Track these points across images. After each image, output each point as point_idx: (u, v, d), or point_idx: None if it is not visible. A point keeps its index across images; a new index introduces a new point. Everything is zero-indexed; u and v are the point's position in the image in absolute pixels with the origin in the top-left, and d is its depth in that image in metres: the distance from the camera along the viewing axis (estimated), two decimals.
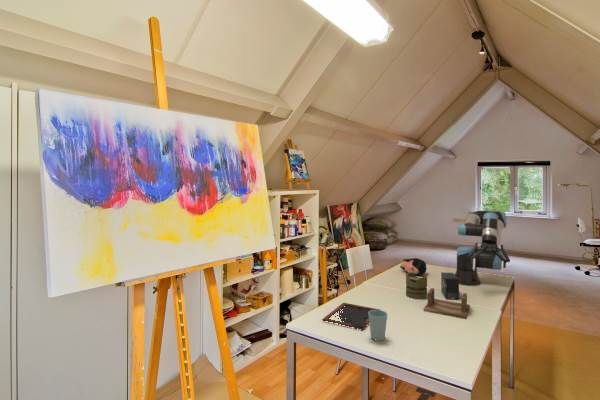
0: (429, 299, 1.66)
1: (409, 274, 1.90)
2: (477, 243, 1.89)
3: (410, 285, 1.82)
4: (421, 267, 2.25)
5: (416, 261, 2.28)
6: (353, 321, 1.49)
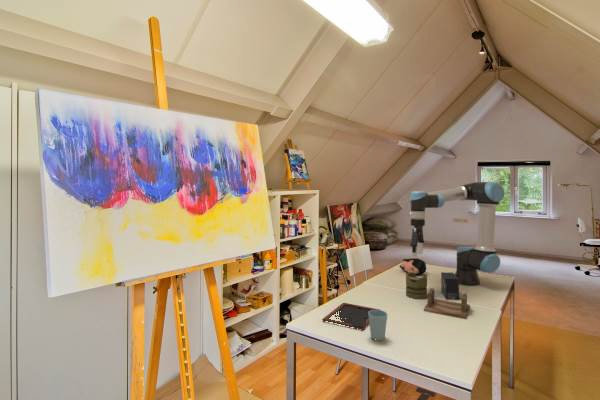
0: (429, 299, 1.66)
1: (409, 274, 1.90)
2: None
3: (410, 285, 1.82)
4: (421, 267, 2.26)
5: (416, 261, 2.29)
6: (353, 321, 1.49)
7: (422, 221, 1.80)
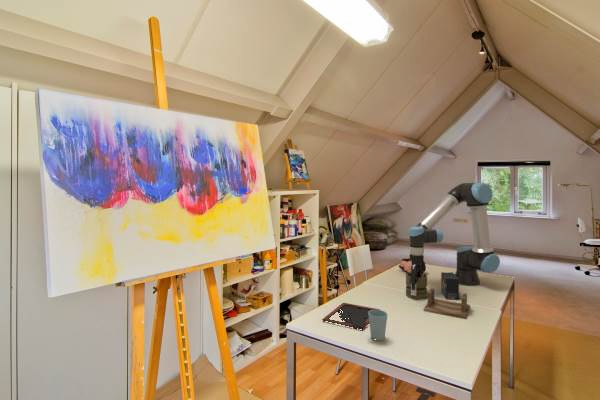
0: (429, 299, 1.66)
1: (409, 274, 1.90)
2: None
3: (410, 285, 1.82)
4: None
5: None
6: (353, 321, 1.49)
7: (421, 257, 1.81)
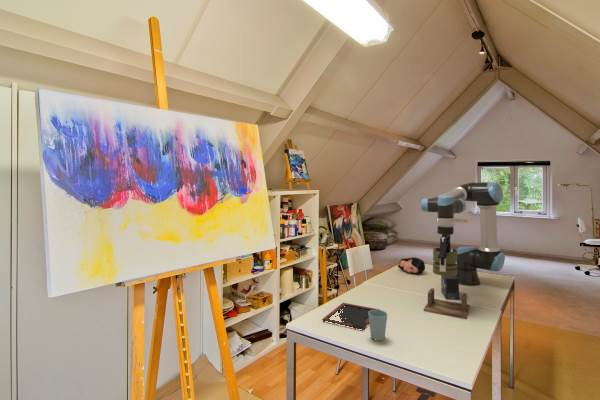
0: (429, 299, 1.66)
1: (436, 249, 1.70)
2: None
3: (438, 260, 1.63)
4: (420, 266, 2.28)
5: (415, 260, 2.31)
6: (353, 321, 1.49)
7: (451, 229, 1.62)
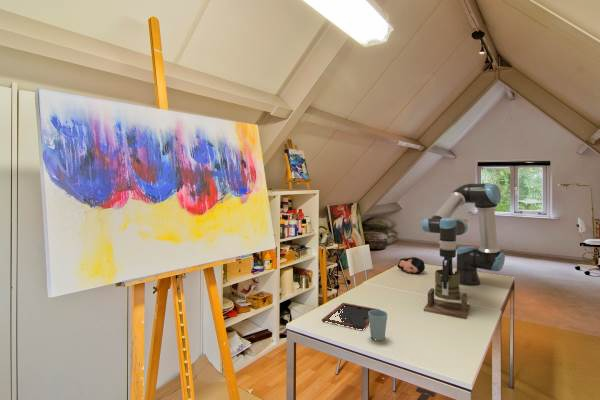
0: (429, 299, 1.66)
1: (438, 271, 1.70)
2: None
3: (441, 283, 1.62)
4: (420, 266, 2.29)
5: (415, 260, 2.31)
6: (353, 321, 1.49)
7: (453, 252, 1.61)
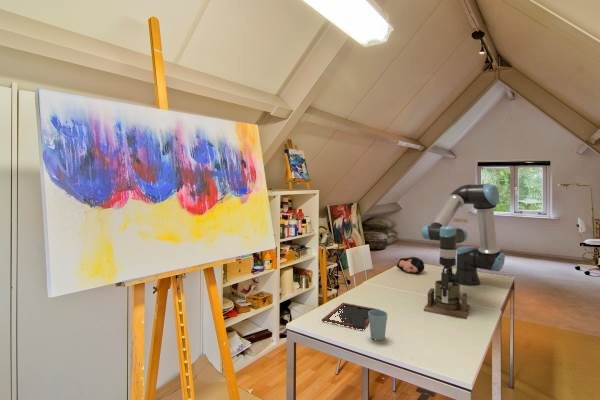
0: (429, 299, 1.66)
1: (438, 282, 1.70)
2: None
3: (441, 294, 1.62)
4: (420, 265, 2.29)
5: (414, 260, 2.32)
6: (353, 321, 1.49)
7: (453, 261, 1.61)
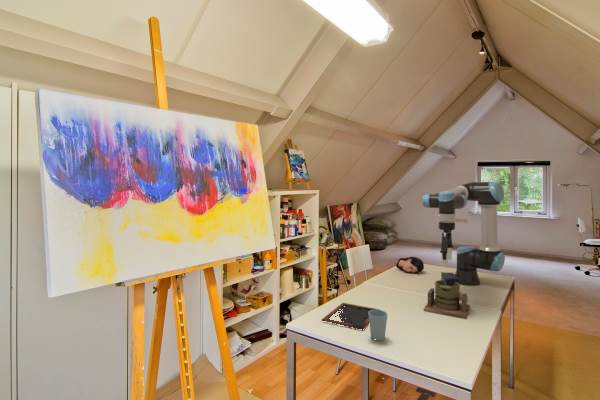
0: (429, 299, 1.66)
1: (438, 282, 1.70)
2: None
3: (441, 294, 1.62)
4: (420, 265, 2.30)
5: (414, 259, 2.33)
6: (353, 321, 1.49)
7: (452, 225, 1.63)
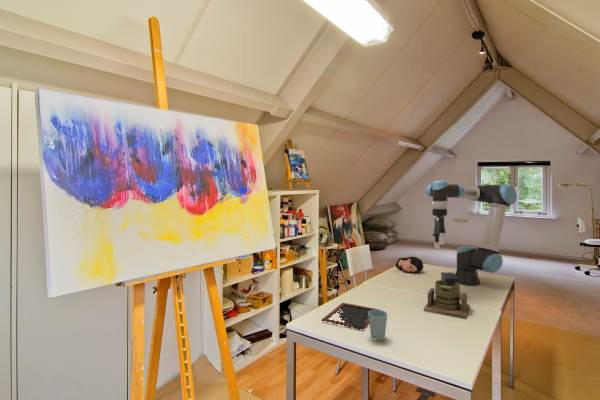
0: (429, 299, 1.66)
1: (438, 282, 1.70)
2: None
3: (441, 294, 1.62)
4: (419, 265, 2.31)
5: (414, 259, 2.33)
6: (353, 321, 1.49)
7: (444, 211, 1.79)
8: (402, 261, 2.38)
